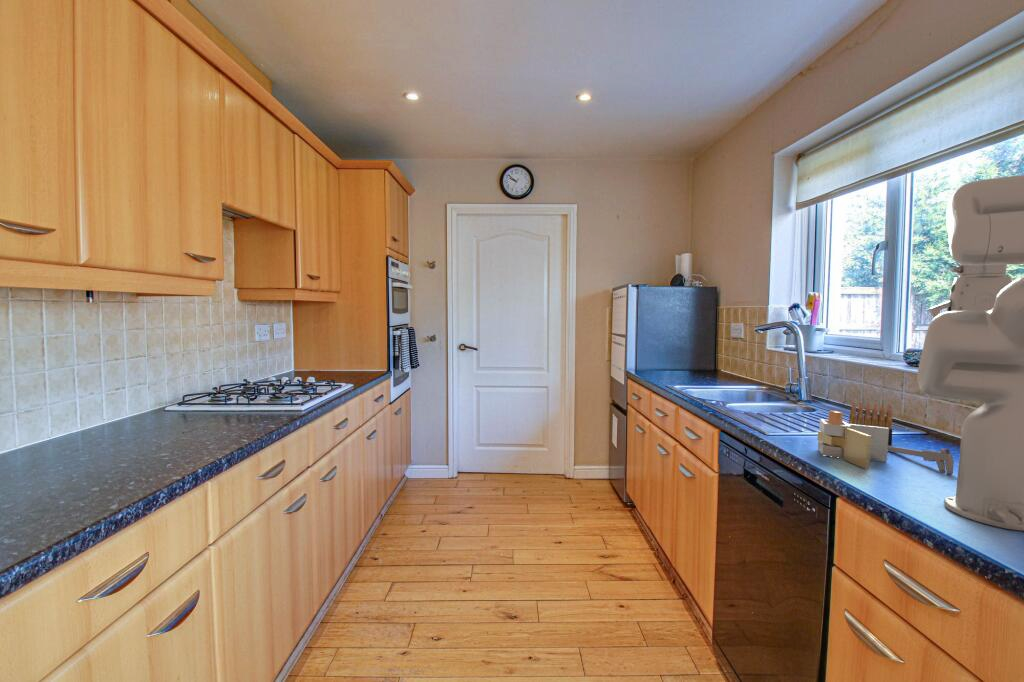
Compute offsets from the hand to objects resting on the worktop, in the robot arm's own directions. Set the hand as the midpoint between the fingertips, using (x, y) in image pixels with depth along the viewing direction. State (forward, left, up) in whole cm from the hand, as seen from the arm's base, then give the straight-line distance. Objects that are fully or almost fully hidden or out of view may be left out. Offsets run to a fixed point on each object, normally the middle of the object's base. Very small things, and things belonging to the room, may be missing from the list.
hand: (974, 343), depth 102 cm
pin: (+4, +25, -32) cm, 41 cm away
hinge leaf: (0, +23, -32) cm, 39 cm away
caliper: (+9, +6, -33) cm, 35 cm away
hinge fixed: (+4, +21, -32) cm, 39 cm away
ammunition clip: (+24, +12, -33) cm, 42 cm away
